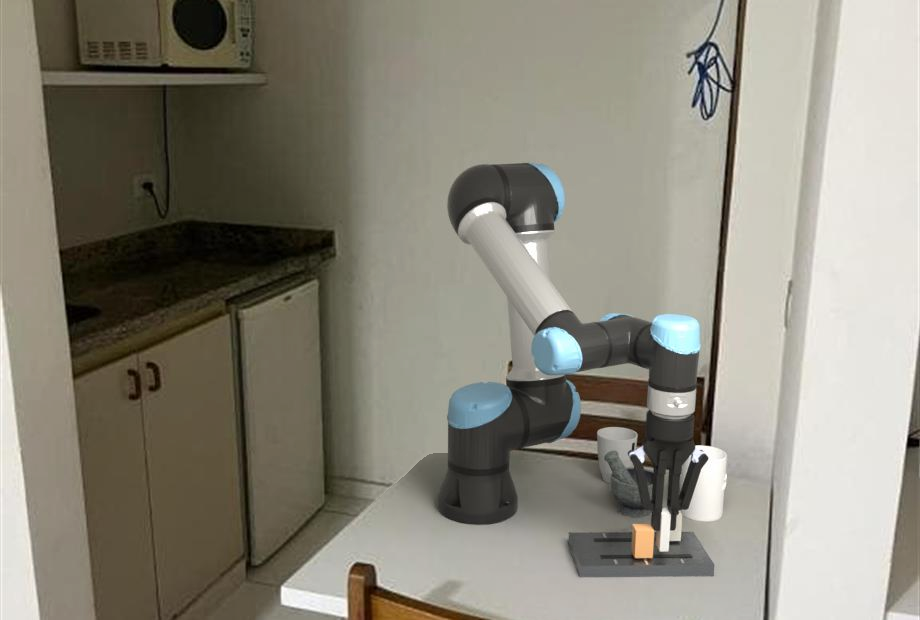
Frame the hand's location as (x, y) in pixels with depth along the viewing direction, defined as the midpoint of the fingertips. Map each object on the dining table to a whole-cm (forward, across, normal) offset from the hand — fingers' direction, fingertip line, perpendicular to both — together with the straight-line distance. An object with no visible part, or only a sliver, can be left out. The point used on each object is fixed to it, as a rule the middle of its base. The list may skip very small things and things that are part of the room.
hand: (662, 547), depth 152 cm
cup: (+4, 0, +37) cm, 37 cm away
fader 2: (+1, +3, +6) cm, 7 cm away
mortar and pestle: (+4, 0, +22) cm, 22 cm away
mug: (+4, +13, +23) cm, 27 cm away
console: (+4, -3, +3) cm, 6 cm away
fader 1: (+1, -3, 0) cm, 4 cm away
